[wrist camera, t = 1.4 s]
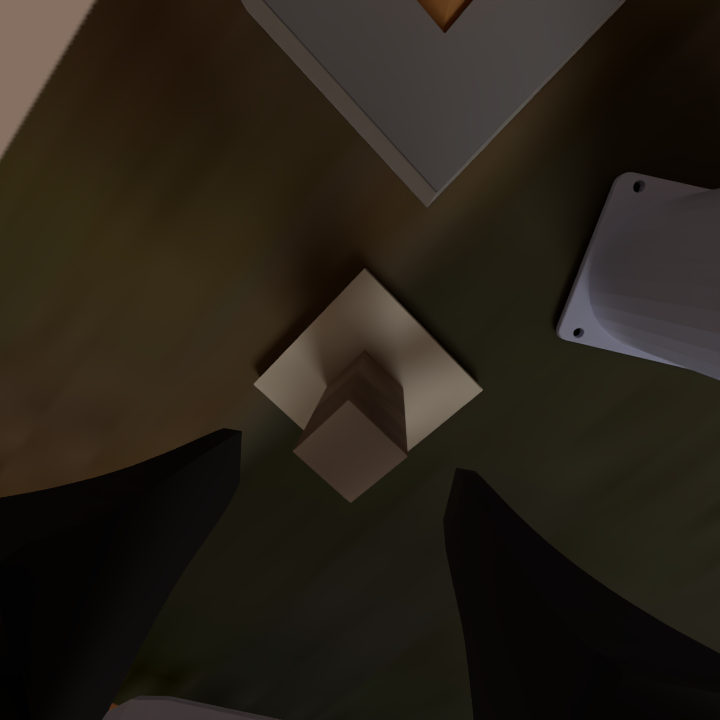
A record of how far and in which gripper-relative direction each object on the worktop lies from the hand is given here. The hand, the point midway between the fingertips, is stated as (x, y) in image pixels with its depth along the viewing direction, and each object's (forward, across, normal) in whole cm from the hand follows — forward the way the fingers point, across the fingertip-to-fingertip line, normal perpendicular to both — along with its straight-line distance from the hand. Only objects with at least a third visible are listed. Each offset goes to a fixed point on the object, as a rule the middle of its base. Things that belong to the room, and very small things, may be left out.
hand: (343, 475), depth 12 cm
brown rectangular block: (+8, 0, 0) cm, 8 cm away
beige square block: (+9, 0, 0) cm, 9 cm away
